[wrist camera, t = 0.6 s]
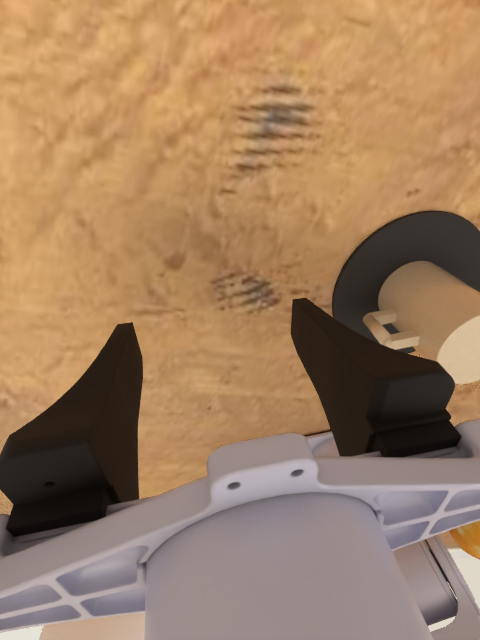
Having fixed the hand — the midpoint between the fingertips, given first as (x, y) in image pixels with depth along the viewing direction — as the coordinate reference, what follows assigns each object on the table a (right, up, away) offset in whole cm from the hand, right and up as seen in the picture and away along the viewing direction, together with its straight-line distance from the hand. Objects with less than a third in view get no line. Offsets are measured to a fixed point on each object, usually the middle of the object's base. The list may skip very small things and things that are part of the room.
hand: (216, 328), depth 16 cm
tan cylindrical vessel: (+14, +3, +13) cm, 20 cm away
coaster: (+15, +3, +13) cm, 20 cm away
